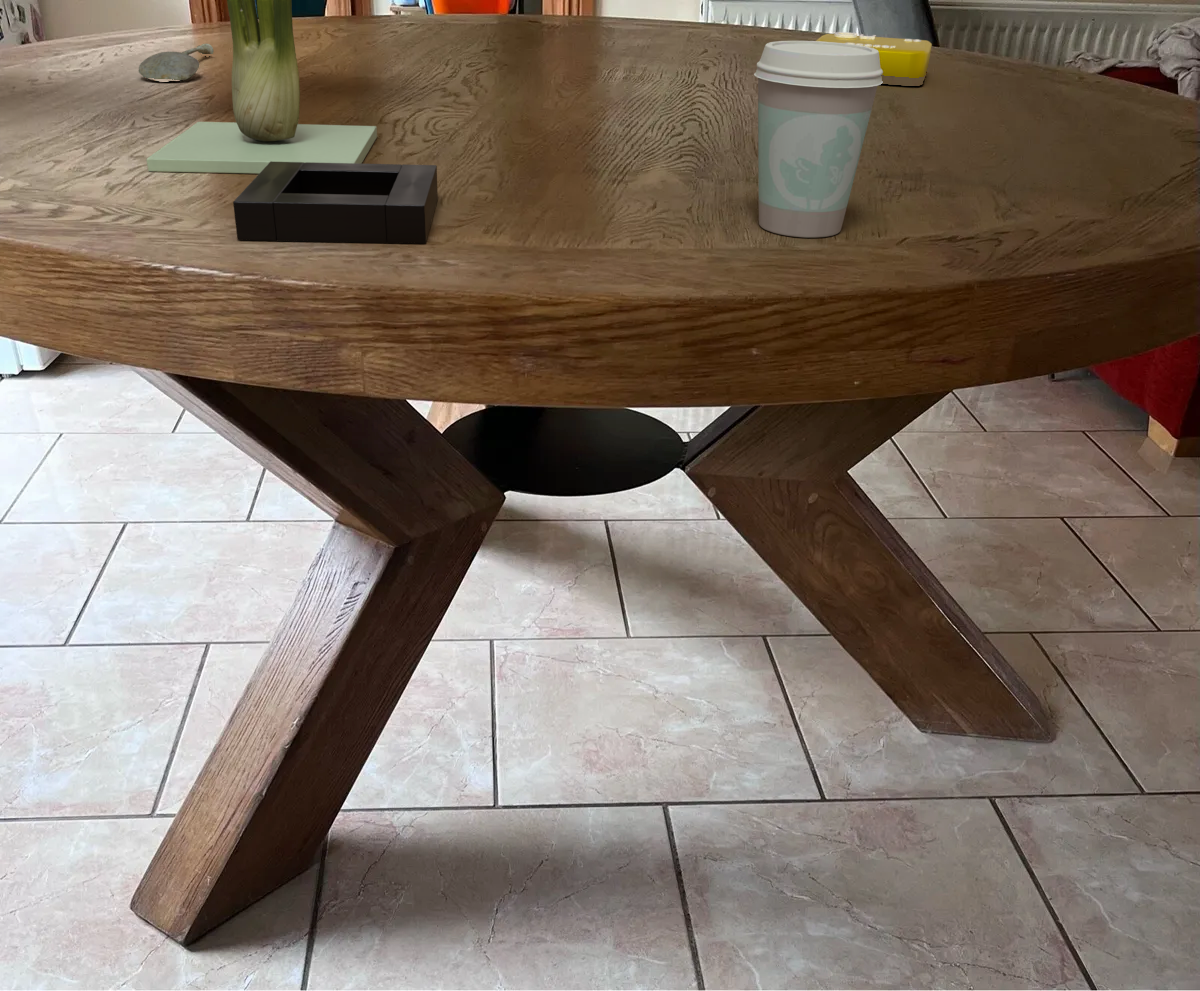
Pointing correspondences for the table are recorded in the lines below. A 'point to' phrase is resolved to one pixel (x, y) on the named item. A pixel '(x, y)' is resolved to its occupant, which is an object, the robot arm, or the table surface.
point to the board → (259, 148)
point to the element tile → (891, 52)
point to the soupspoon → (173, 64)
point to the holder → (338, 203)
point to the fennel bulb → (264, 69)
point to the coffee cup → (811, 132)
